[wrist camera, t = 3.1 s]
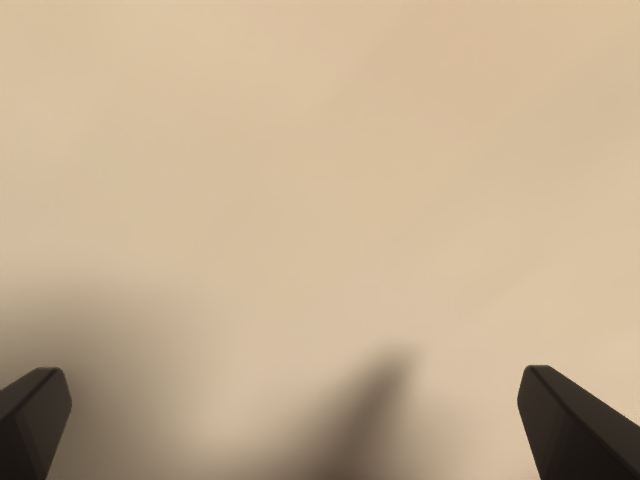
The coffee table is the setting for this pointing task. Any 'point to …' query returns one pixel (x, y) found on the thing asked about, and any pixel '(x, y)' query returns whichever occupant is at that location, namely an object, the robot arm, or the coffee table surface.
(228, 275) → the coffee table surface
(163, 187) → the coffee table surface
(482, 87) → the coffee table surface
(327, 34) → the coffee table surface
